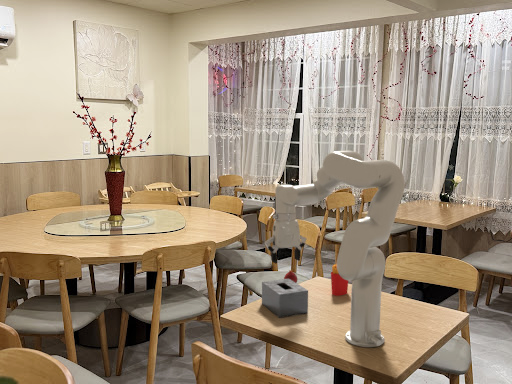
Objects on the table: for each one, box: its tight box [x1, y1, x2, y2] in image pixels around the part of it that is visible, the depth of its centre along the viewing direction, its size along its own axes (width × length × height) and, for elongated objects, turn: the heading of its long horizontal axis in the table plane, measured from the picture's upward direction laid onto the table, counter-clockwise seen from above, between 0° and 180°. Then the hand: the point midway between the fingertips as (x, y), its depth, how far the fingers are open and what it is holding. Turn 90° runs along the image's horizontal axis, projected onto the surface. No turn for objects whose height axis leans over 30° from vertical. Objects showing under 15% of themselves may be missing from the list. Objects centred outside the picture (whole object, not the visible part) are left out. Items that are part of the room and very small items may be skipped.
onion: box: [283, 269, 298, 284], centre depth 218 cm, size 6×6×8 cm
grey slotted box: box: [261, 278, 309, 319], centre depth 192 cm, size 16×12×9 cm
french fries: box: [330, 263, 349, 297], centre depth 210 cm, size 9×4×13 cm, turn 122°
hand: (286, 261), depth 190 cm, fingers open, 9 cm apart
